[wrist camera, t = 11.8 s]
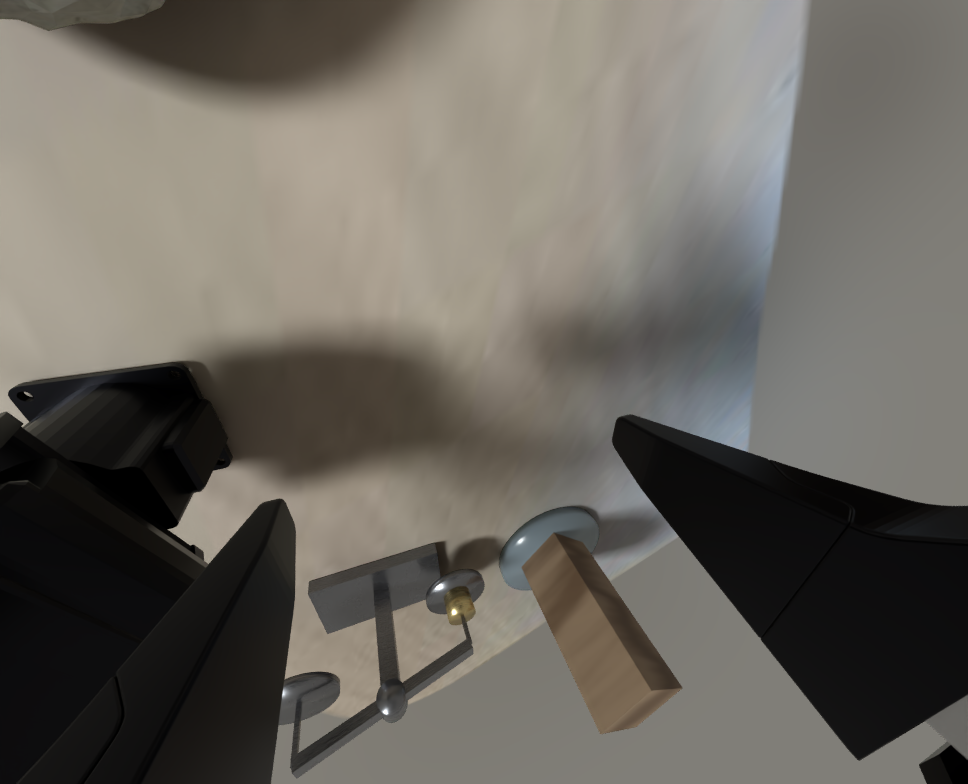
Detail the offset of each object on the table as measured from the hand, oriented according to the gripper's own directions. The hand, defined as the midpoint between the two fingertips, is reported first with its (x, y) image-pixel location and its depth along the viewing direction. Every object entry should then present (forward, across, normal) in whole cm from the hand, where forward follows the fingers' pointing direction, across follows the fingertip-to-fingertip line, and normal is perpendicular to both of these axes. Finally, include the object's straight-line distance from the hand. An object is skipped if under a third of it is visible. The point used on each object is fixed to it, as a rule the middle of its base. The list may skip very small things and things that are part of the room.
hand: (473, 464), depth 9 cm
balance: (+13, +5, +23) cm, 27 cm away
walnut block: (+12, -12, +26) cm, 31 cm away
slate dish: (+13, -12, +26) cm, 31 cm away
